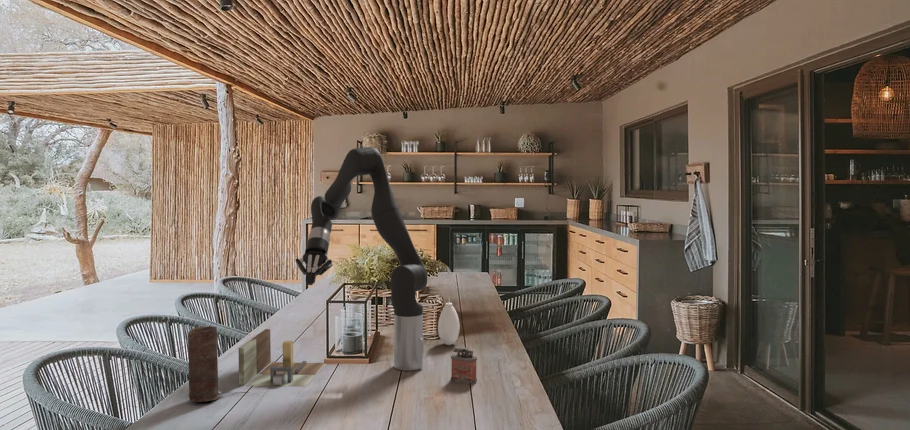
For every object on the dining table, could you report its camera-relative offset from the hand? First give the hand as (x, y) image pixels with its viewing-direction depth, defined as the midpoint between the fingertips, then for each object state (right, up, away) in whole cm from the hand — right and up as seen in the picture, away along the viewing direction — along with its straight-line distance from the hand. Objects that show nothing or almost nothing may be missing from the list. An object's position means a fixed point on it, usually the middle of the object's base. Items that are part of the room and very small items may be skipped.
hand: (309, 283), depth 193 cm
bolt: (-2, -26, -22) cm, 34 cm away
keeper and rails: (-2, -25, -16) cm, 30 cm away
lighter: (+51, -27, -19) cm, 61 cm away
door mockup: (-3, -26, -17) cm, 31 cm away
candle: (-20, -28, -36) cm, 49 cm away
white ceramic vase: (+46, -25, +21) cm, 56 cm away
